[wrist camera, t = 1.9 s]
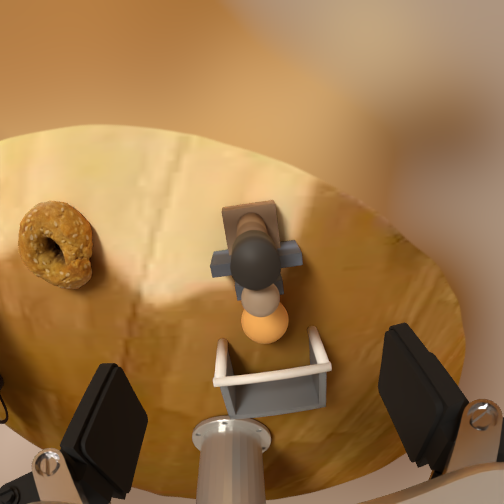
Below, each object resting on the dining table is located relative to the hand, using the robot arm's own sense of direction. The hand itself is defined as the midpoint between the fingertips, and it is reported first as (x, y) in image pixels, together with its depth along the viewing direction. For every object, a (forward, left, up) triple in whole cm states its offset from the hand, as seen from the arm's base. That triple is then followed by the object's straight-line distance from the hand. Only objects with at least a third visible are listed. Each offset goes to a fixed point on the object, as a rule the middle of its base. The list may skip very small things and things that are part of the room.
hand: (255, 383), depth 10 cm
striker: (-2, 0, -22) cm, 22 cm away
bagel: (+1, +22, -23) cm, 31 cm away
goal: (-18, 0, -22) cm, 29 cm away
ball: (-10, 0, -20) cm, 23 cm away
